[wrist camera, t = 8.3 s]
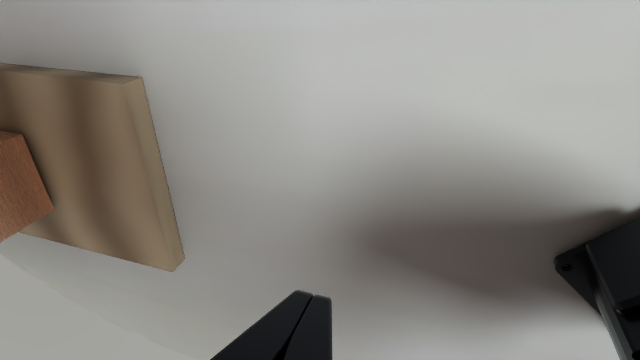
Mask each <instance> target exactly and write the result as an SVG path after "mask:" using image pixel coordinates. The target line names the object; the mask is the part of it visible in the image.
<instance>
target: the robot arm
mask: <svg viewBox="0 0 640 360" xmlns="http://www.w3.org/2000/svg"><path fill="white" fill-rule="evenodd" d="M566 263H568V264H569V265H568V266H562V265H563V264H566ZM554 266H555V269H556V271H557V272H558V273H559V274H560V275H561V276H562V277H563V278H564V279H565V280H566V281H567V282H568V283H569V284H570V285H571V286H572V287H573V288H574V289H575V290H576V291H577V292H578V293H579V294H580V295H581V296H582V297H583V298H584V299H585V300H586V301H587V302H588V303H589V304H590V305H591V306H592V307H593V308H594V309H595V310H596V311H597V312H598V313H599V314H600V315H601V316H602V317H603V320H604V322H605V324H606V327H607V329H608V332H609V334H610V336H611V339H612V341H613V344H614V346H615V348H616V351H617V353H618V356H619V358H620V360H640V218H639V219H636V220H634V221H632V222H630V223H628V224H626V225H623V226H621V227H619V228H617V229H615V230H613V231H611V232H608V233H606V234H604V235H602V236H600V237H598V238H595V239H593V240H591V241H589V242H587V243H585V244H583V245H580V246H578V247H576V248H574V249H572V250H570V251H568V252H565V253H563V254H561V255H559V256H557V257H556V258H555V259H554ZM210 360H332V303H331V299H330V298H329V297H324V296H320V295H314V296H313V294H311V293H308V292H304V291H300V290H297V291H294V292H293V293H292V294H290V295H289V296H288V297H287V298H286V299H284V300H283V301H282V302H281V303H279V304H278V305H277V306H276V307H274V308H273V309H272V310H271V311H269V312H268V313H267V314H266V315H265V316H263V317H262V318H261V319H260V320H258V321H257V322H256V323H255V324H253V325H252V326H251V327H250V328H249V329H247V330H246V331H245V332H244V333H242V334H241V335H240V336H239V337H237V338H236V339H235V340H234V341H233V342H231V343H230V344H229V345H228V346H226V347H225V348H224V349H223V350H221V351H220V352H219V353H218V354H216V355H215V356H214V357H213V358H212V359H210Z"/></svg>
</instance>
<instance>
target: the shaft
mask: <svg viewBox="0 0 640 360" xmlns="http://www.w3.org/2000/svg"><path fill="white" fill-rule="evenodd" d="M53 210H54V208H53V205H52V203H51V201H50V198H49V196H48V194H47V191H46V189H45V187H44V184H43V182H42V180H41V178H40V175H39V173H38V171H37V168H36V166H35V164H34V161H33V159H32V157H31V154H30V152H29V150H28V147H27V145H26V143H25V140H24V138H23V136H22V134H16V133H10V132H4V131H0V242H2V241H3V240H5V239H7V238H8V237H10V236H12V235H13V234H15V233H17V232H18V231H20V230H22V229H23V228H25V227H27V226H28V225H30V224H31V223H33V222H35V221H36V220H38V219H40V218H41V217H43V216H45V215H46V214H48V213H50V212H51V211H53Z"/></svg>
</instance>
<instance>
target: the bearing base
mask: <svg viewBox="0 0 640 360" xmlns="http://www.w3.org/2000/svg"><path fill="white" fill-rule="evenodd" d="M0 131H4V132H10V133H16V134H22V136H23V138H24V140H25V143H26V145H27V147H28V150H29V152H30V154H31V157H32V159H33V161H34V164H35V166H36V168H37V171H38V173H39V175H40V178H41V180H42V182H43V184H44V187H45V189H46V191H47V194H48V196H49V198H50V201H51V203H52V205H53V208H54V210H53V211H51V212H50V213H48V214H46V215H45V216H43V217H41V218H40V219H38V220H36V221H35V222H33V223H31V224H30V225H28V226H27V227H25V228H23V229H22V230H20V231H18V232H21V233H24V234H28V235H32V236H36V237H40V238H44V239H47V240H51V241H55V242H59V243H63V244H67V245H71V246H74V247H78V248H82V249H86V250H90V251H94V252H97V253H101V254H105V255H109V256H113V257H117V258H120V259H124V260H128V261H132V262H136V263H140V264H144V265H147V266H151V267H155V268H159V269H163V270H167V271H170V272H173V271H174V270H175V269H176V268H177V267H178V266H179V265H180V264H181V262H182V261H183V260H184V259H185V257H184V253H183V249H182V245H181V241H180V236H179V232H178V228H177V224H176V219H175V215H174V211H173V207H172V202H171V198H170V194H169V190H168V186H167V181H166V177H165V173H164V169H163V164H162V160H161V156H160V152H159V147H158V143H157V139H156V135H155V131H154V126H153V122H152V118H151V114H150V109H149V105H148V101H147V97H146V93H145V88H144V84H143V80H142V77H134V76H124V75H114V74H104V73H94V72H84V71H73V70H63V69H53V68H43V67H33V66H23V65H13V64H3V63H0Z"/></svg>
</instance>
